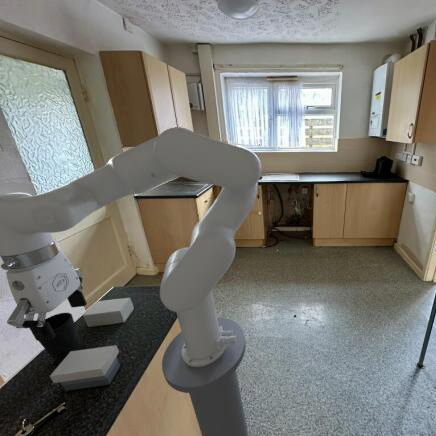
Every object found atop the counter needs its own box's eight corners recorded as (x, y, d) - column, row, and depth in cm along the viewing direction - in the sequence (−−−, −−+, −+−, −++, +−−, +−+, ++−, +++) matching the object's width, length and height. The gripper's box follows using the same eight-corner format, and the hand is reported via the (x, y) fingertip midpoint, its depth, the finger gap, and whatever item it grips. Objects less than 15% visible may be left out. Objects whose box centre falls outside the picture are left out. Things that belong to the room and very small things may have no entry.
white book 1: (132, 302, 82) (130, 297, 81) (122, 316, 76) (120, 310, 75) (98, 306, 81) (95, 301, 80) (85, 321, 75) (82, 315, 74)
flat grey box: (119, 351, 62) (116, 345, 61) (104, 375, 56) (101, 368, 55) (73, 358, 61) (70, 351, 60) (53, 383, 55) (49, 376, 54)
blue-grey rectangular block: (120, 365, 63) (118, 360, 62) (109, 384, 58) (106, 378, 57) (79, 371, 62) (76, 366, 61) (65, 391, 57) (62, 385, 56)
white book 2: (134, 308, 83) (132, 302, 82) (124, 322, 77) (122, 316, 76) (100, 312, 82) (98, 306, 81) (88, 327, 76) (85, 321, 75)
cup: (91, 340, 71) (76, 308, 67) (82, 361, 64) (65, 327, 60) (58, 350, 68) (40, 318, 64) (46, 373, 61) (25, 339, 57)
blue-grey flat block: (118, 360, 62) (115, 354, 61) (106, 378, 57) (104, 373, 57) (76, 366, 61) (73, 360, 60) (62, 385, 56) (58, 379, 56)
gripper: (10, 278, 40) (51, 352, 46) (82, 235, 56) (105, 294, 62) (-40, 283, 39) (8, 357, 45) (47, 238, 55) (74, 297, 61)
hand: (64, 321), depth 54 cm, fingers open, 9 cm apart
